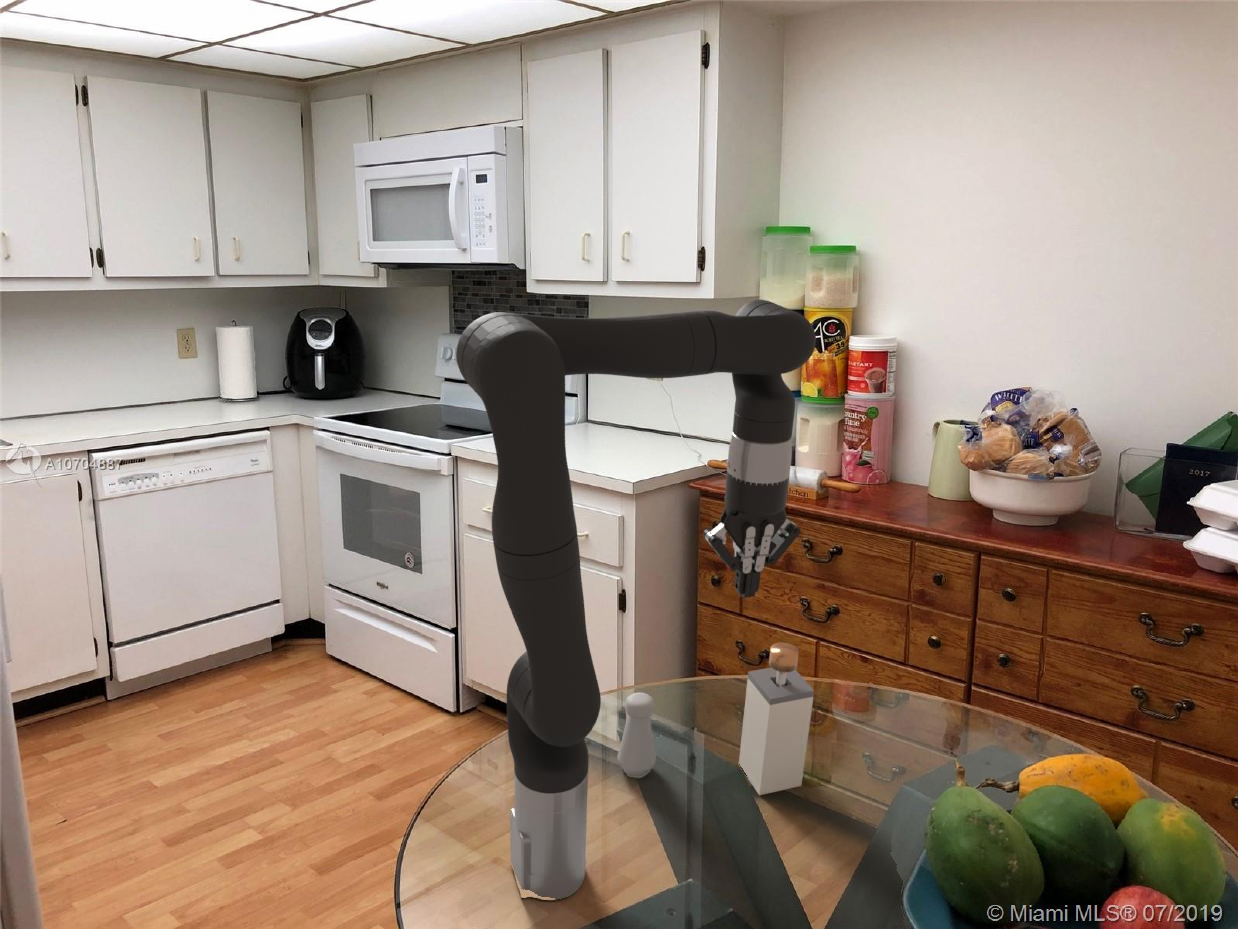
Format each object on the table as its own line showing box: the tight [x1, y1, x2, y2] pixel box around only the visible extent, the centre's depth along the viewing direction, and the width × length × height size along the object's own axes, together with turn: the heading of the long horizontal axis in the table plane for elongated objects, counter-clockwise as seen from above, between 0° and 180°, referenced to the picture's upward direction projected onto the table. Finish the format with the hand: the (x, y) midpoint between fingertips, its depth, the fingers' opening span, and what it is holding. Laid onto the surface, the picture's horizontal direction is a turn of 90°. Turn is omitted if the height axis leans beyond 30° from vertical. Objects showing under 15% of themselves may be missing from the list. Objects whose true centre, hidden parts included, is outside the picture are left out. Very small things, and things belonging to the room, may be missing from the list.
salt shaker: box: [617, 692, 657, 777], centre depth 145 cm, size 6×6×13 cm
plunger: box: [768, 642, 800, 687], centre depth 142 cm, size 4×4×17 cm
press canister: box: [738, 667, 815, 796], centre depth 144 cm, size 7×7×17 cm
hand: (745, 594), depth 124 cm, fingers closed
